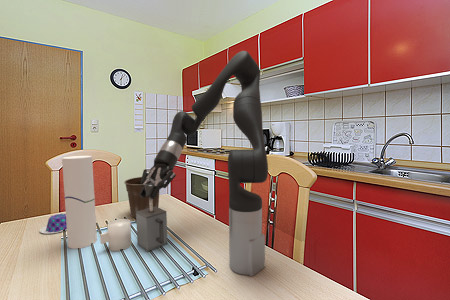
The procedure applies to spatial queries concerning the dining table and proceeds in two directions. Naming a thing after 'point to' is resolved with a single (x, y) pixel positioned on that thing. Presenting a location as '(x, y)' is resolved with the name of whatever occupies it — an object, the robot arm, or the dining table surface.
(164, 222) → the box with side grip
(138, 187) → the plant pot
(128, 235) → the mug
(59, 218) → the purple hat
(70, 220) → the container
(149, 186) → the plunger
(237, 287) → the dining table surface
